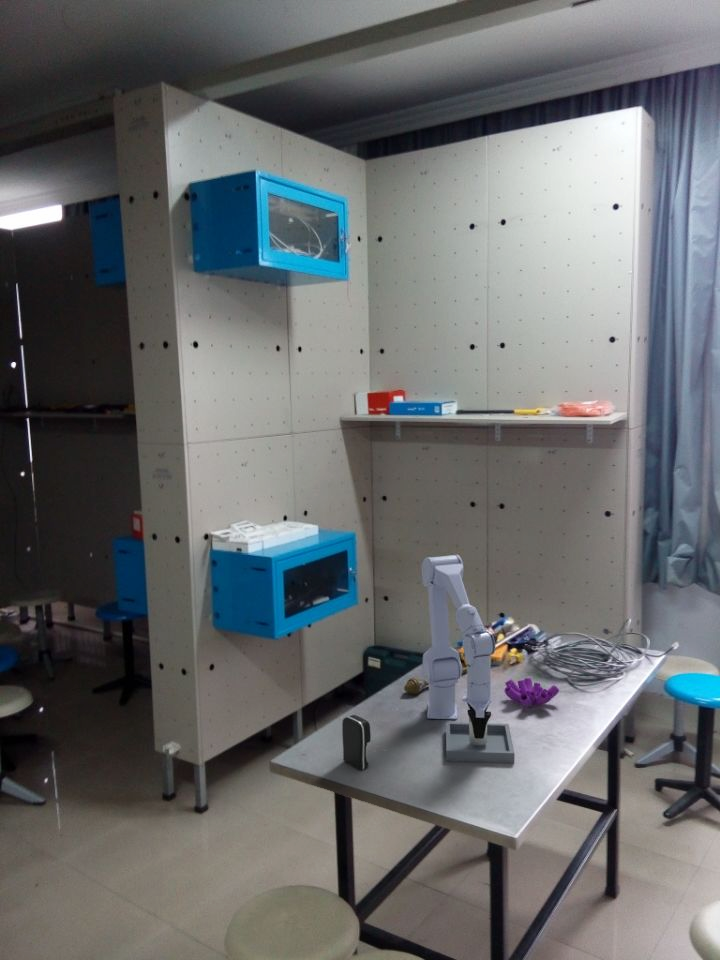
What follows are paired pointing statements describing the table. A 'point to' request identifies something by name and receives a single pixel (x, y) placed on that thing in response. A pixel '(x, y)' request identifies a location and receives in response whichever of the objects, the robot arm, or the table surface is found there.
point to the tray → (492, 751)
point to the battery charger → (355, 741)
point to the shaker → (472, 738)
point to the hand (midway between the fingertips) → (478, 733)
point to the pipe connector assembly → (529, 692)
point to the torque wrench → (419, 684)
